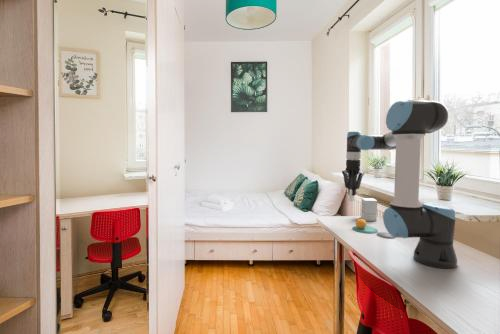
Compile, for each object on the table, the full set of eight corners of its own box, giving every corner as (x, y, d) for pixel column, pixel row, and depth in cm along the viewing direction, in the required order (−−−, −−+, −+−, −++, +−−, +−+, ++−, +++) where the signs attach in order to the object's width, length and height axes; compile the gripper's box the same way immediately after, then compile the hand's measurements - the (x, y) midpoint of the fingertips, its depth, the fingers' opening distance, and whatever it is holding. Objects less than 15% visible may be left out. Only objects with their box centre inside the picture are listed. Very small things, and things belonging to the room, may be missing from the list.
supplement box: (372, 217, 184) (373, 198, 183) (376, 221, 177) (377, 200, 175) (360, 217, 185) (361, 197, 184) (364, 220, 177) (364, 200, 176)
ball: (359, 223, 167) (366, 229, 163) (352, 225, 164) (359, 232, 160) (362, 215, 164) (369, 221, 160) (355, 218, 161) (363, 224, 157)
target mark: (382, 230, 160) (382, 229, 160) (369, 235, 152) (369, 234, 152) (361, 224, 170) (361, 224, 170) (347, 228, 162) (347, 228, 162)
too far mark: (399, 236, 150) (399, 235, 150) (390, 239, 145) (390, 239, 145) (382, 231, 158) (382, 231, 158) (373, 234, 152) (373, 234, 152)
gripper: (367, 159, 161) (365, 202, 164) (347, 158, 171) (345, 198, 174) (359, 160, 157) (358, 203, 159) (339, 158, 167) (337, 199, 169)
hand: (351, 200), depth 167 cm, fingers closed
